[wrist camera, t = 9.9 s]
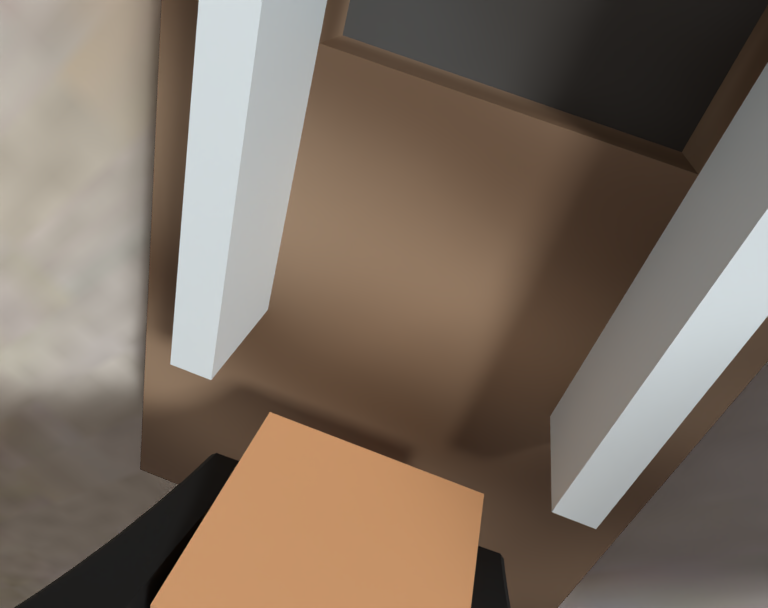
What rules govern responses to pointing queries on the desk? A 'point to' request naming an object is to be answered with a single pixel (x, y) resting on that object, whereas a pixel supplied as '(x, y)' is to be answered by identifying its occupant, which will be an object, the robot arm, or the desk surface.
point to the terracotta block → (328, 531)
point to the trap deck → (460, 243)
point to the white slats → (616, 342)
